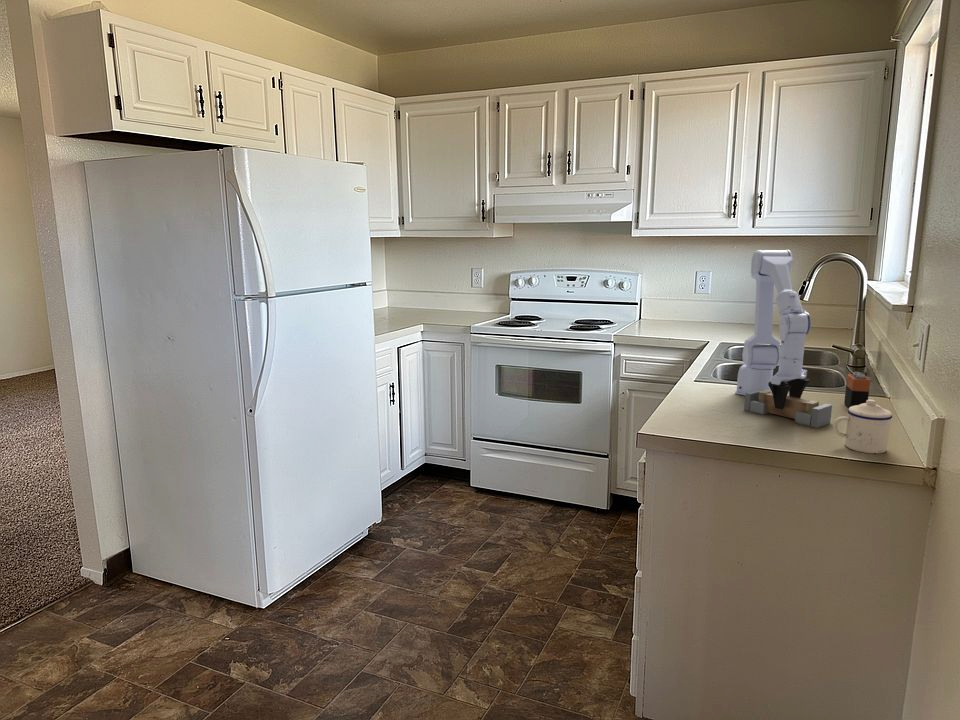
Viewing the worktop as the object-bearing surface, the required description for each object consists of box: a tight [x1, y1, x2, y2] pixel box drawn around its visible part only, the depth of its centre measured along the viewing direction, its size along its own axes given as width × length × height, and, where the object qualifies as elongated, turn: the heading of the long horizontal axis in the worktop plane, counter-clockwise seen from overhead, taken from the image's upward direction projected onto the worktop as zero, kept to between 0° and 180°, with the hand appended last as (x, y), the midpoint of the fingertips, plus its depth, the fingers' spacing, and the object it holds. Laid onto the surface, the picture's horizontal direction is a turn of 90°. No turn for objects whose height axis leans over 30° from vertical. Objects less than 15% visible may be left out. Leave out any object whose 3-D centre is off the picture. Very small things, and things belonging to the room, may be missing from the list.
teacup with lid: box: [832, 398, 893, 454], centre depth 155 cm, size 12×9×12 cm
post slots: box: [743, 389, 833, 429], centre depth 180 cm, size 21×7×5 cm, turn 37°
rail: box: [758, 390, 820, 420], centre depth 180 cm, size 15×3×5 cm, turn 37°
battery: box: [843, 371, 871, 409], centre depth 188 cm, size 4×7×10 cm, turn 165°
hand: (786, 406), depth 180 cm, fingers open, 7 cm apart
